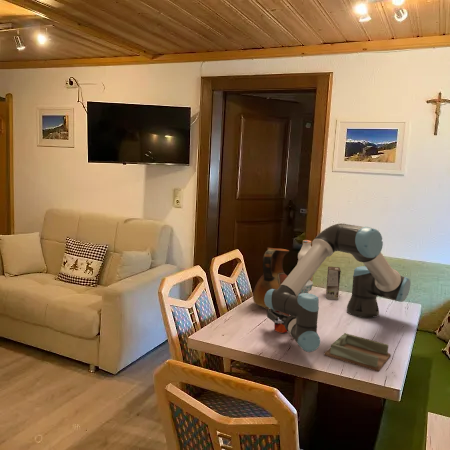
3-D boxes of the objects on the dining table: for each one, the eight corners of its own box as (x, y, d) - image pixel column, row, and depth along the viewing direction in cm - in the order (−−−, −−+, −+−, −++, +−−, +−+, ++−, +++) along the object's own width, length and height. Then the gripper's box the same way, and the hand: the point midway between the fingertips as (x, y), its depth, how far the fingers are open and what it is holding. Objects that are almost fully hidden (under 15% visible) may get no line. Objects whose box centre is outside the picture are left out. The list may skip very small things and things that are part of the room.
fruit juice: (294, 289, 249) (298, 241, 245) (295, 285, 258) (299, 238, 254) (311, 291, 247) (315, 242, 243) (311, 286, 256) (315, 240, 252)
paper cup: (278, 334, 181) (280, 302, 179) (268, 328, 187) (270, 296, 185) (293, 332, 184) (296, 300, 182) (283, 325, 191) (285, 295, 189)
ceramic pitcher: (298, 306, 219) (303, 248, 214) (281, 317, 202) (286, 254, 198) (264, 298, 229) (267, 242, 225) (245, 308, 212) (248, 248, 208)
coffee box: (338, 300, 232) (340, 270, 230) (326, 299, 234) (328, 269, 231) (337, 295, 241) (340, 267, 239) (325, 294, 243) (327, 266, 240)
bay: (339, 341, 177) (340, 331, 176) (390, 356, 166) (391, 344, 165) (324, 355, 164) (325, 343, 163) (378, 371, 152) (379, 359, 152)
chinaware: (283, 290, 246) (284, 277, 245) (310, 292, 245) (311, 279, 244) (284, 298, 231) (285, 284, 230) (313, 300, 230) (314, 286, 229)
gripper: (270, 337, 166) (255, 315, 188) (321, 335, 170) (300, 315, 192) (271, 318, 165) (256, 299, 187) (322, 317, 169) (302, 298, 191)
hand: (279, 307), depth 189 cm, fingers closed on paper cup, 8 cm apart
